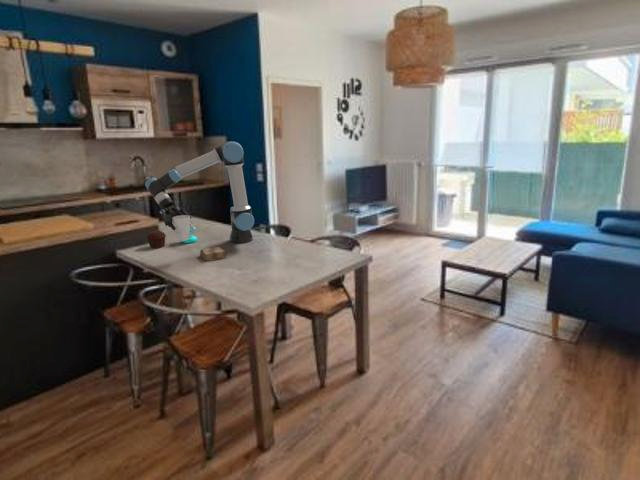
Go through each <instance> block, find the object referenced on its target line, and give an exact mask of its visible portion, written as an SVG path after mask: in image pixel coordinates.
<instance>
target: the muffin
mask: <svg viewBox="0 0 640 480" xmlns="http://www.w3.org/2000/svg"><path fill="white" fill-rule="evenodd" d="M166 236H167V235H166V233H165V232H163V231H162V230H153V231H151V232H149V233H148V234H147V236H146V239H147V241H148V244H149V247H150V248H151V249H161V248H164V247H165V246H166ZM150 248H149V249H150Z"/></svg>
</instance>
